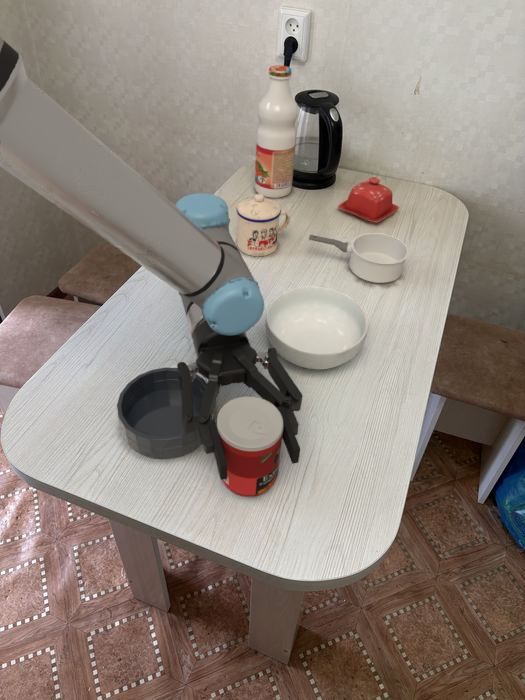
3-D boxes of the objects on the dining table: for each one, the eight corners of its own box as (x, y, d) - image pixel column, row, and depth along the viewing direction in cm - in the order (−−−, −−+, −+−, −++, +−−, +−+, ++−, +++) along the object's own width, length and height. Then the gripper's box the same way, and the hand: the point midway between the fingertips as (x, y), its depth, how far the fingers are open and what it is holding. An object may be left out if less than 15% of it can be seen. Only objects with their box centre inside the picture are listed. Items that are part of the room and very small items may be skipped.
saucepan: (311, 245, 110) (314, 222, 106) (404, 260, 107) (410, 237, 103) (301, 274, 102) (304, 250, 98) (401, 292, 99) (408, 268, 95)
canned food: (267, 507, 63) (272, 456, 55) (208, 487, 65) (205, 435, 57) (285, 458, 68) (292, 406, 61) (230, 441, 70) (230, 388, 62)
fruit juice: (289, 200, 124) (299, 76, 105) (251, 196, 125) (255, 72, 106) (293, 183, 131) (304, 64, 112) (257, 179, 132) (262, 60, 113)
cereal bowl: (259, 317, 92) (261, 285, 87) (348, 314, 93) (355, 283, 88) (269, 386, 80) (271, 354, 75) (371, 382, 81) (380, 350, 76)
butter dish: (360, 195, 128) (366, 163, 122) (400, 211, 123) (408, 178, 117) (334, 211, 121) (339, 177, 116) (375, 229, 116) (383, 194, 110)
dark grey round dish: (112, 457, 69) (107, 437, 66) (132, 385, 78) (128, 365, 75) (209, 461, 69) (208, 441, 66) (217, 389, 79) (216, 369, 76)
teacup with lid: (246, 261, 104) (247, 210, 96) (229, 239, 110) (229, 189, 102) (297, 250, 108) (302, 199, 100) (278, 229, 114) (282, 180, 106)
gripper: (284, 341, 78) (340, 463, 62) (148, 363, 73) (172, 502, 57) (287, 302, 72) (350, 426, 57) (141, 324, 68) (166, 465, 52)
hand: (260, 464), depth 57 cm, fingers closed on canned food, 8 cm apart
